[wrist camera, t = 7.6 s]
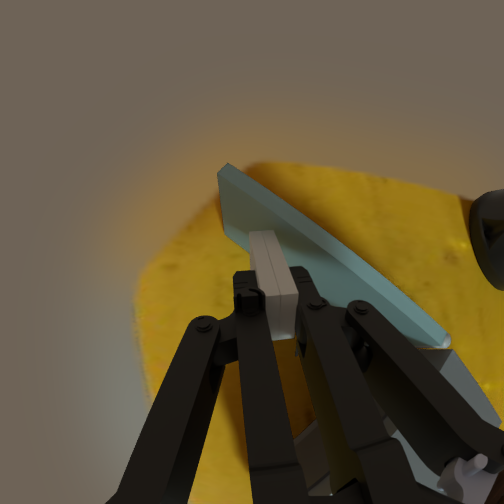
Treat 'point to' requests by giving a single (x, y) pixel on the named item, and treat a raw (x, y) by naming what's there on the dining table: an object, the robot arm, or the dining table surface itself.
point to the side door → (320, 256)
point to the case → (455, 373)
